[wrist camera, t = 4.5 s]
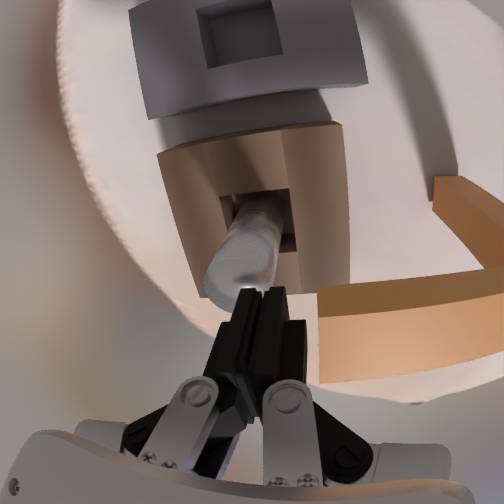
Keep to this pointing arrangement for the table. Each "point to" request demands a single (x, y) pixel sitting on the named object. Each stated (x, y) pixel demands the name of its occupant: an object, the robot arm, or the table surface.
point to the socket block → (262, 179)
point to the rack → (241, 50)
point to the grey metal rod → (247, 250)
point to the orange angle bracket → (421, 302)
